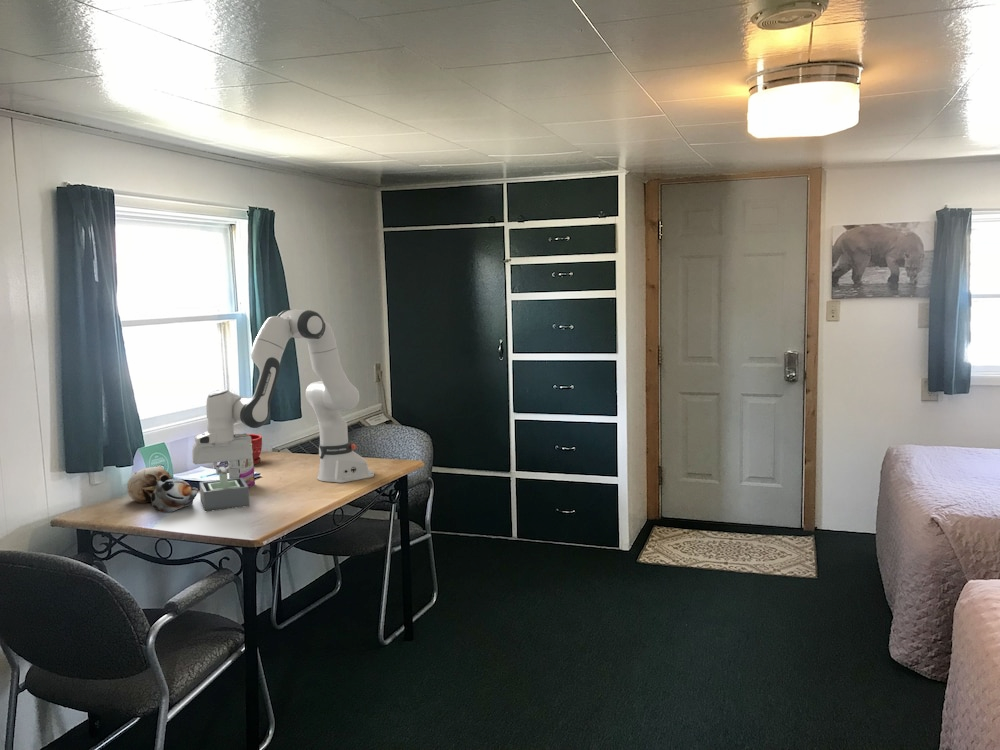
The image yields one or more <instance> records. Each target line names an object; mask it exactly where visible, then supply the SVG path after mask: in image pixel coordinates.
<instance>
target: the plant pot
mask: <svg viewBox="0 0 1000 750" xmlns="http://www.w3.org/2000/svg"><path fill="white" fill-rule="evenodd" d="M247 434H248V435H250V436H251V444H252V448H253V463H254V465H257V464H259V463H260V461H261V460H262V459H261V457H260V456H261V452H262V448H263V439H262V438H263V436H262V435H260V434H257V433H255V434H254V433H247Z"/></svg>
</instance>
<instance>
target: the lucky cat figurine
mask: <svg viewBox="0 0 1000 750" xmlns="http://www.w3.org/2000/svg"><path fill="white" fill-rule="evenodd" d="M198 492H199V488H198V487H197V488H196V487H192V486H191V484H189V483H188V482H187V481H185V480H183V479H181V478H172V479H170V480H166V481H165V482H162V481H159V482H157V486H156V489H155V490H154V491H153V493H152V495H151V502H150V503H151V506H152V508H153V509H156V510H157V512H158V513H173V512H175V511H177V510H180V509H181V508H184V507H187V506H191V505H193V504H194V499H195V498H196V496H197V494H198Z"/></svg>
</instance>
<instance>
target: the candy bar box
mask: <svg viewBox="0 0 1000 750" xmlns="http://www.w3.org/2000/svg"><path fill="white" fill-rule="evenodd" d="M250 447H251V453H252V456H251V458H250V459H243V460H233V464H232V466H231V468H230V473H228V476H229V477H228V479H234V478H243V480H244V481H245V483H246V484H247V486H248V488H250V487H252V486H254V485H255V484H256V480H255V477H256V476H255V464H254V463H253V448H252V444H250ZM227 464H228V465H229V463H228V462H227ZM228 465H227V466H228Z"/></svg>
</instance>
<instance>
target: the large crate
mask: <svg viewBox="0 0 1000 750" xmlns="http://www.w3.org/2000/svg"><path fill="white" fill-rule="evenodd" d="M227 479H228V481H234V480H237V482H238V484H239V485H240V487H237V488H229V489H220V490H212V491H208V483H217V482H220V479H218V480H217V479H216V480H209V481H200V482H199V494H200V495H199V497H200V502H201V506H202V507H203V510H204V512H205V511H207V512H213V511H212V510H214V511H220V510H219V509H222V510H228V509H227V508H230V509H236V508H235V507H238V508H244V507H243V506H246V507H249V506H250V494H249V493H250V491H249V487H248V486H247V484H246V483H245V481H244V480H243V478H234V479H229V478H227Z"/></svg>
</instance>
